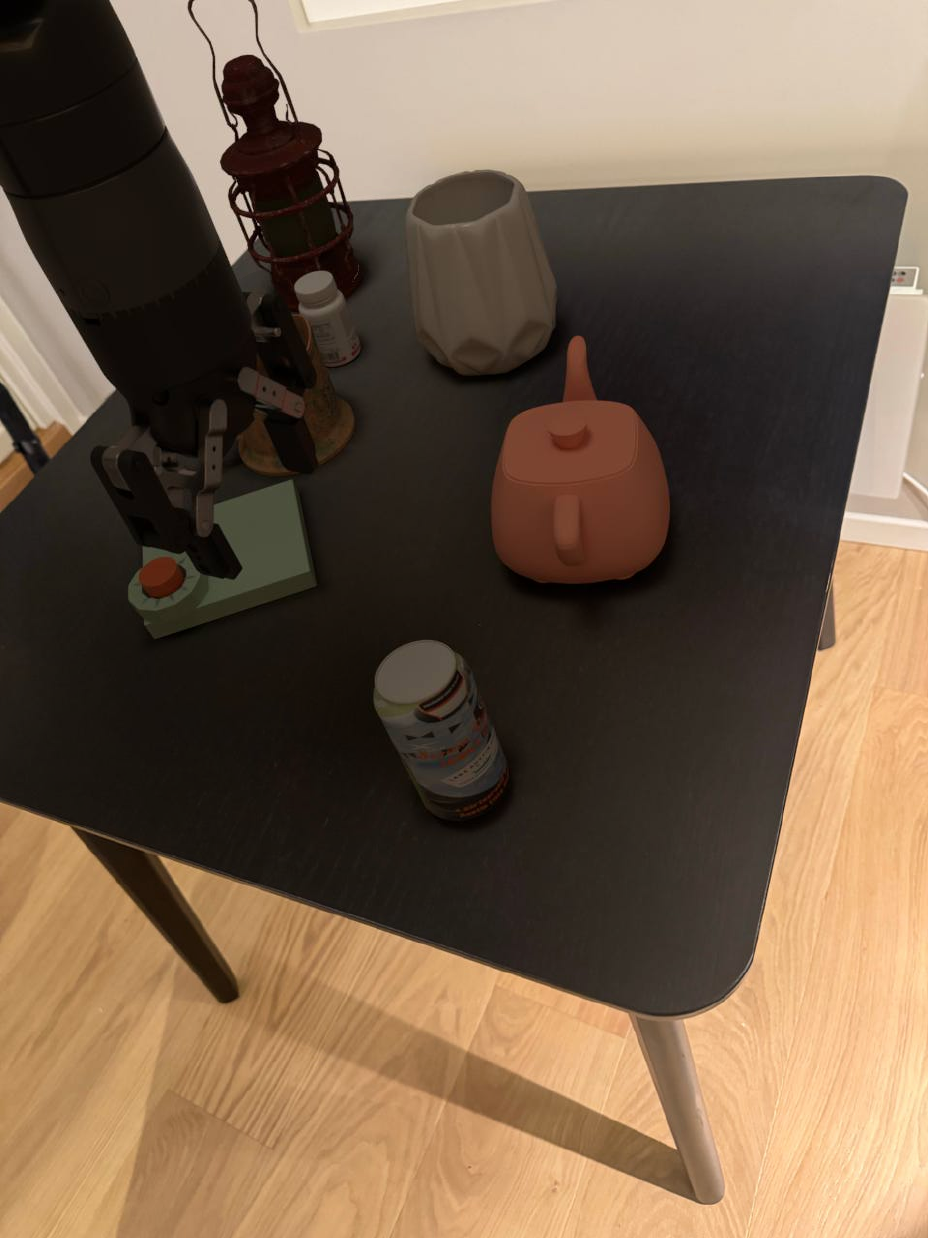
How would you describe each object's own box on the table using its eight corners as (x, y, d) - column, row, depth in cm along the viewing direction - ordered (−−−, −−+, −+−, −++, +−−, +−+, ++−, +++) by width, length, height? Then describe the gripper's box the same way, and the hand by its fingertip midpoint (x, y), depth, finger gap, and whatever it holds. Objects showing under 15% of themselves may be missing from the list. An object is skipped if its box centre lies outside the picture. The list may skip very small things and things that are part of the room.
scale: (148, 646, 76) (128, 619, 73) (145, 544, 84) (127, 517, 81) (318, 590, 76) (304, 561, 73) (299, 494, 84) (286, 465, 82)
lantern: (249, 313, 106) (125, 21, 84) (300, 254, 113) (197, -31, 90) (340, 319, 102) (234, 11, 79) (388, 257, 108) (302, -44, 86)
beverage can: (461, 849, 59) (415, 750, 50) (394, 778, 63) (341, 674, 54) (534, 786, 61) (503, 679, 52) (464, 720, 65) (424, 611, 56)
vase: (556, 383, 87) (533, 229, 75) (412, 393, 90) (369, 247, 79) (570, 297, 95) (551, 148, 84) (437, 309, 99) (402, 167, 88)
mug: (170, 457, 92) (110, 355, 83) (330, 381, 94) (289, 274, 85) (201, 523, 84) (139, 419, 75) (373, 439, 87) (334, 328, 78)
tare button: (147, 604, 74) (138, 591, 73) (146, 576, 77) (138, 563, 75) (185, 591, 74) (177, 578, 73) (183, 564, 77) (175, 551, 75)
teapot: (669, 444, 78) (663, 319, 69) (673, 631, 66) (667, 508, 57) (513, 456, 82) (488, 337, 72) (489, 636, 69) (455, 520, 60)
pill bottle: (345, 335, 100) (320, 262, 93) (370, 350, 97) (346, 276, 90) (309, 357, 98) (281, 285, 92) (333, 373, 95) (306, 300, 89)
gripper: (163, 175, 46) (275, 431, 59) (-33, 346, 39) (143, 598, 51) (286, 177, 43) (378, 446, 56) (99, 363, 36) (253, 626, 48)
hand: (265, 519), depth 53 cm, fingers open, 8 cm apart
